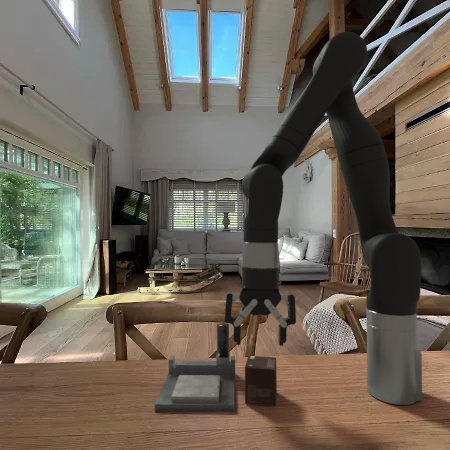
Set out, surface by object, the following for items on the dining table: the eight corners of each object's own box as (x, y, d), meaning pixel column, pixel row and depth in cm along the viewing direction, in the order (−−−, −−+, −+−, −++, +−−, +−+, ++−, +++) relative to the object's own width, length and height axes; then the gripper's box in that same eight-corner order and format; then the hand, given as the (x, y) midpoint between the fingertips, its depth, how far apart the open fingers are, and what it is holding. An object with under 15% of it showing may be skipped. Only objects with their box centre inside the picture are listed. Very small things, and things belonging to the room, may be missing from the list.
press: (235, 373, 76) (235, 355, 76) (235, 411, 60) (235, 389, 60) (170, 372, 77) (170, 355, 77) (154, 410, 61) (154, 388, 61)
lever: (229, 359, 77) (229, 322, 77) (229, 364, 73) (229, 326, 74) (217, 359, 77) (216, 322, 77) (216, 364, 73) (216, 326, 74)
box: (275, 408, 62) (275, 369, 62) (244, 404, 63) (244, 366, 63) (277, 392, 68) (276, 357, 68) (248, 389, 69) (248, 354, 69)
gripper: (292, 263, 69) (291, 338, 69) (226, 261, 70) (225, 337, 70) (299, 267, 62) (298, 352, 62) (225, 266, 62) (223, 350, 62)
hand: (259, 344), depth 66 cm, fingers open, 8 cm apart
